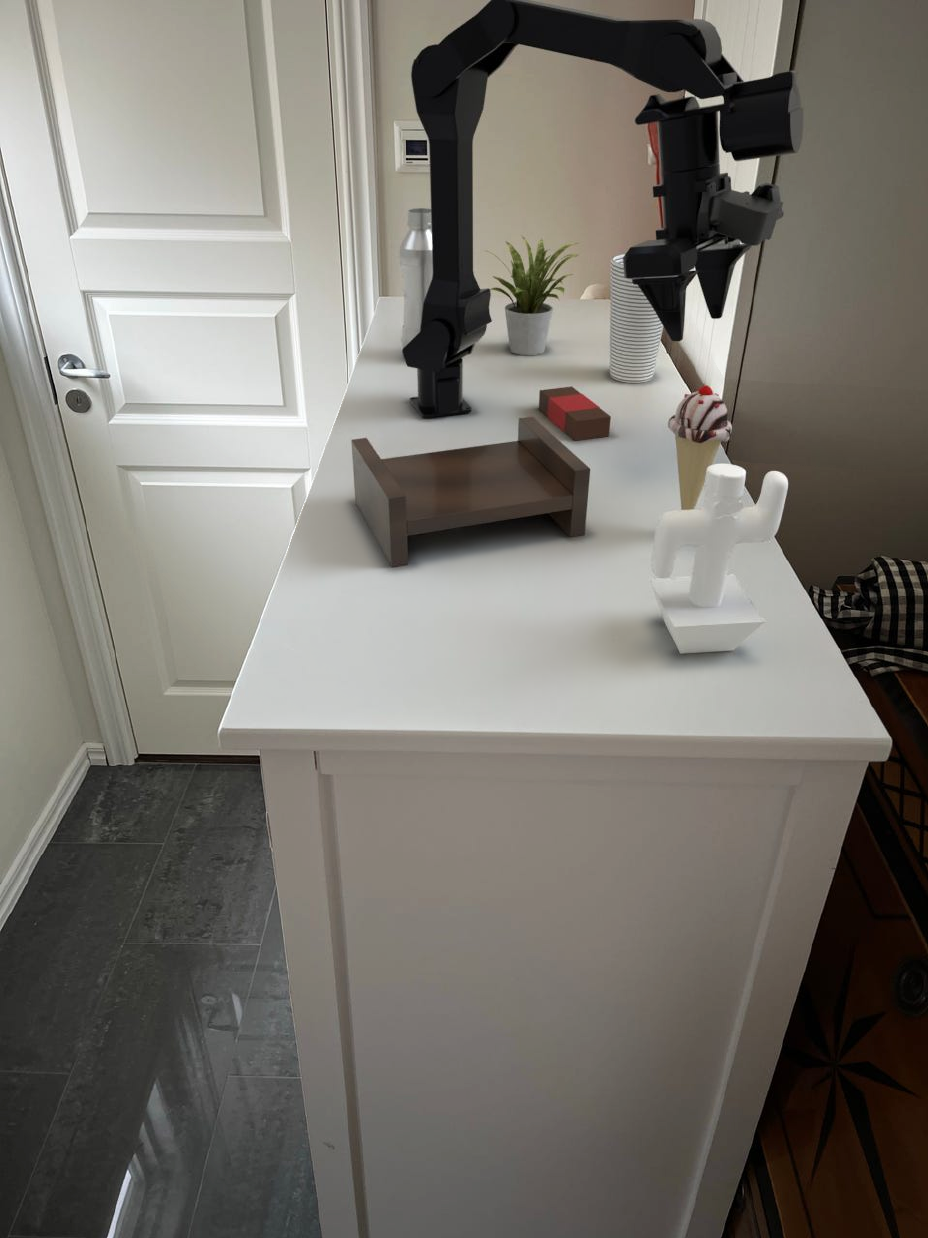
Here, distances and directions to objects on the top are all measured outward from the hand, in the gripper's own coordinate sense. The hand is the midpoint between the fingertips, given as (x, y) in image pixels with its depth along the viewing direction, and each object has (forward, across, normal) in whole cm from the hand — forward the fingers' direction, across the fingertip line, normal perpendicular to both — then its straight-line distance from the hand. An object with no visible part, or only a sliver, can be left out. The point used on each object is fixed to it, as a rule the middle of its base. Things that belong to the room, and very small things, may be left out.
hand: (697, 329), depth 99 cm
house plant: (+8, +22, +37) cm, 44 cm away
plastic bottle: (+6, +8, +48) cm, 49 cm away
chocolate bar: (+11, +1, +18) cm, 21 cm away
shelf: (+12, -28, +12) cm, 32 cm away
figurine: (+17, -33, -15) cm, 40 cm away
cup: (+12, +20, +21) cm, 31 cm away
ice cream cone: (+16, -17, -6) cm, 24 cm away
